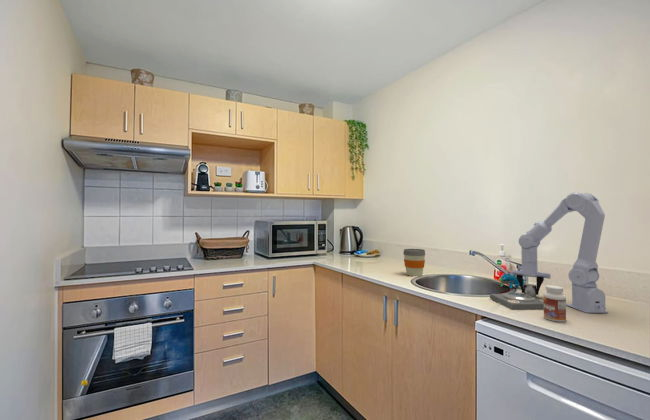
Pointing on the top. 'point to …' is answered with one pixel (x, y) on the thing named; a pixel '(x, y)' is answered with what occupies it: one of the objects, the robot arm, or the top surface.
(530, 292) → the steel spacer
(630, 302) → the top surface
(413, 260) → the reusable coffee cup
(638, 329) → the top surface
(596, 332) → the top surface
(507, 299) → the scale
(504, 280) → the teal lumpy piece
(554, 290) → the pill bottle
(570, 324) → the top surface
